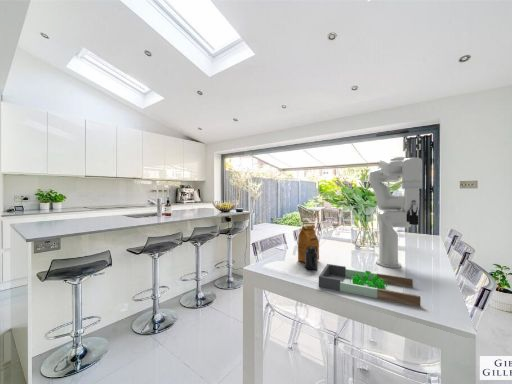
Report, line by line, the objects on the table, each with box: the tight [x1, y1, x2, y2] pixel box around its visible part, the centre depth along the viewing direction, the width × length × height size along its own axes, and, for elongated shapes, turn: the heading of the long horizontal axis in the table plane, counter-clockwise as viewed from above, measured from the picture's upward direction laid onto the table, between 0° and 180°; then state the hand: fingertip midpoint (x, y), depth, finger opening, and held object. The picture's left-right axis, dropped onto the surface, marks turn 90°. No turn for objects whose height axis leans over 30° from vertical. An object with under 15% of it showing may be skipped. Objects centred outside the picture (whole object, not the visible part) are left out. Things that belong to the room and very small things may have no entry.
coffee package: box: [297, 224, 320, 263], centre depth 137 cm, size 10×12×22 cm
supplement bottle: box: [304, 246, 319, 271], centre depth 123 cm, size 7×7×12 cm
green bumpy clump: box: [349, 270, 388, 290], centre depth 100 cm, size 15×15×7 cm
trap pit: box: [318, 263, 347, 292], centre depth 106 cm, size 20×9×4 cm, turn 152°
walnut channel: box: [376, 272, 421, 308], centre depth 94 cm, size 20×14×4 cm
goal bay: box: [339, 268, 378, 299], centre depth 101 cm, size 20×14×4 cm
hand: (412, 223), depth 101 cm, fingers open, 9 cm apart
